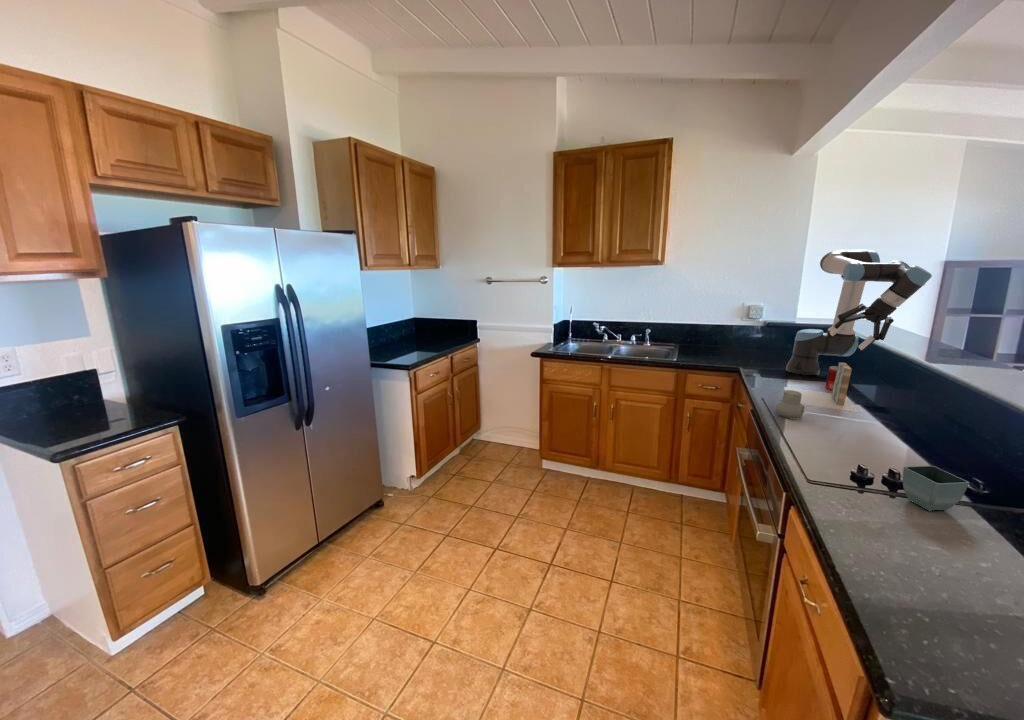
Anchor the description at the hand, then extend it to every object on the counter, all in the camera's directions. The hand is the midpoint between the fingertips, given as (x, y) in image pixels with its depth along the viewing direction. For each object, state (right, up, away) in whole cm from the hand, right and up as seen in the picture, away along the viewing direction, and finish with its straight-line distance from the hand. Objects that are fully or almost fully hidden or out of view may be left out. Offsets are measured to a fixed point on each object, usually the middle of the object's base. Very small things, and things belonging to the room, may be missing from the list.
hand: (845, 341), depth 185 cm
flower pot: (-39, -46, -76) cm, 96 cm away
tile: (-4, -26, 0) cm, 26 cm away
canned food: (+8, -23, +16) cm, 29 cm away
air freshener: (-35, -31, -17) cm, 50 cm away
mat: (-10, -26, +3) cm, 28 cm away
